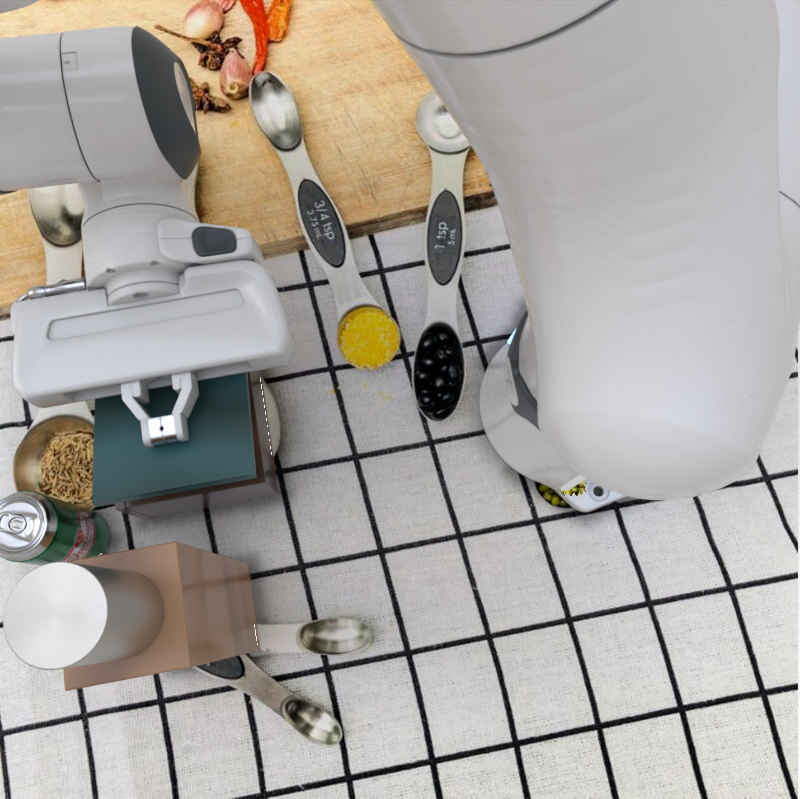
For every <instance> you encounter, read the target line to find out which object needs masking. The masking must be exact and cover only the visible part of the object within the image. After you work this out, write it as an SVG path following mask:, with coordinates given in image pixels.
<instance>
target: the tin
mask: <svg viewBox="0 0 800 799" xmlns="http://www.w3.org/2000/svg"><path fill="white" fill-rule="evenodd" d="M2 615H3V616H2V628H3V634H4V637H5V640H6V642H7V644H8V646H9V648H10V650H11V651H12V653H13V654H14V655H15V657H16V658H18V659H19V660H20V661H22V662H23V663H25V664H26V665H28V666H30V667H32V668H35V669H38V670H43V671H57V670H58V671H59V670H63V669H64V668H71V667H77V666H83V665H90V664H96V663H102V662H109V661H115V660H121V659H127V658H131V657H133V656H136V655H138V654H140V653H141V652H143V651H144V650H146V649H147V648H148V647H149V646H150V645H151V644H152V643H153V642H154V640H155V639H156V637H157V636H158V634H159V632H160V630H161V627H162V624H163V619H164V604H163V600H162V596H161V594H160V592H159V590H158V589H157V587H156V586H155V585H154V583H153V582H152V581H151V580H149V579H148V578H147V577H145V576H143V575H141V574H139V573H136V572H131V571H125V570H118V569H111V568H105V567H98V566H91V565H85V564H78V563H72V562H63V561H58V562H51V563H47V564H44V565H37V567H35V568H33V569H31V570H29V571H28V572H27V573H26V574H25V575H23V576H22V577H21V578H19V580H18V582H17V583H16V584H15V585H14V586H13V588H12V589H11V591H10V593H9V595H8V597H7V600H6V602H5V606H4V609H3V614H2Z"/></svg>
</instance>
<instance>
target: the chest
mask: <svg viewBox="0 0 800 799" xmlns="http://www.w3.org/2000/svg"><path fill="white" fill-rule="evenodd" d="M247 374H248V385H249V397H250V408H251V419H252V431H253V442H254V453H255V465H256V476H257V477H256V478H253V479H248V480H242V481H237V482H231V483H226V484H220V485H215V486H209V487H204V488H198V489H193V490H187V491H182V492H176V493H171V494H165V495H160V496H154V497H149V498H143V499H138V500H132V501H127V502H122V503H116V504H114V510H115V511H118V512H121V513H123V514H126V515H128V516H131V517H134V518H137V519H140V520H149V519H155V518H159V517H164V516H170V515H176V514H181V513H186V512H187V513H188V512H191V511H192V512H193V511H198V510H203V509H209V508H215V507H219V506H225V505H230V504H236V503H242V502H247V501H251V500H257V499H263V498H270V497H275V496H279V495H280V491H279V483H278V477H277V470H276V464H275V457H274V451H273V444H272V443H273V442H272V436H271V431H270V423H269V415H268V410H267V403H266V395H265V390H264V383H263V376H262V370H257V371H252V372H247ZM260 377H261V382H260ZM261 384H262V389H261ZM262 391H263V395H262ZM263 398H264V402H263ZM264 405H265V408H264ZM265 411H266V415H265ZM266 418H267V421H266ZM267 425H268V427H267ZM268 432H269V435H268ZM269 439H270V441H269ZM270 446H271V449H270ZM271 452H272V455H271Z"/></svg>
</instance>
